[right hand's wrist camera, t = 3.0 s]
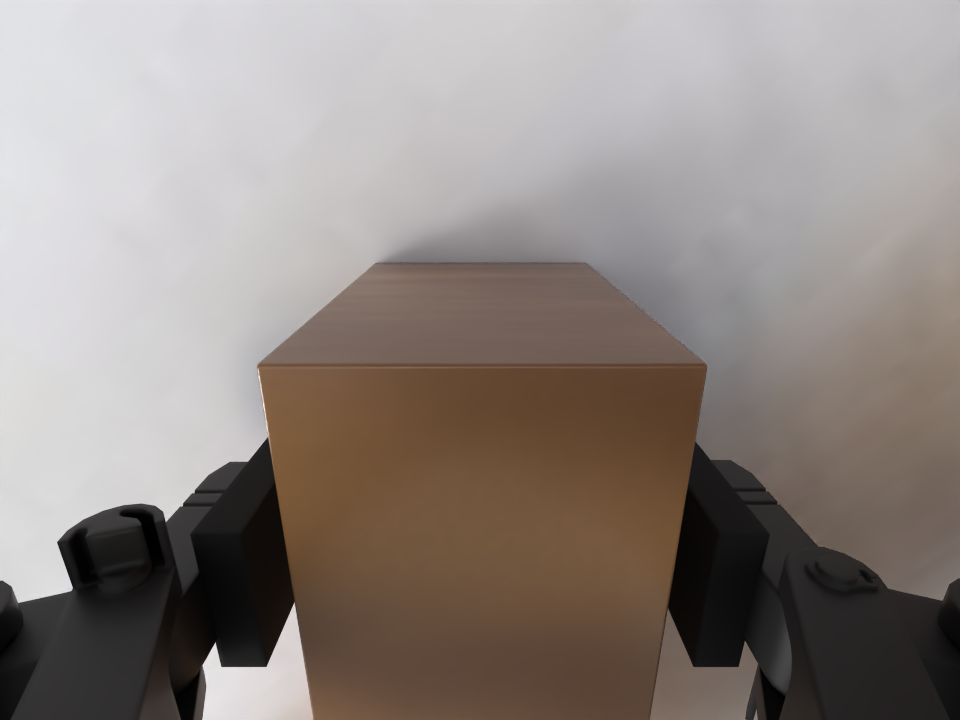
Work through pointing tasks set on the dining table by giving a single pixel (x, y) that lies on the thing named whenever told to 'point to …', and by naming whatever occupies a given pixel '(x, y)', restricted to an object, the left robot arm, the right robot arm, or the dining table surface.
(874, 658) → the right robot arm
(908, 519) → the dining table surface
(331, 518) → the post
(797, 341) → the dining table surface
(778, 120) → the dining table surface
